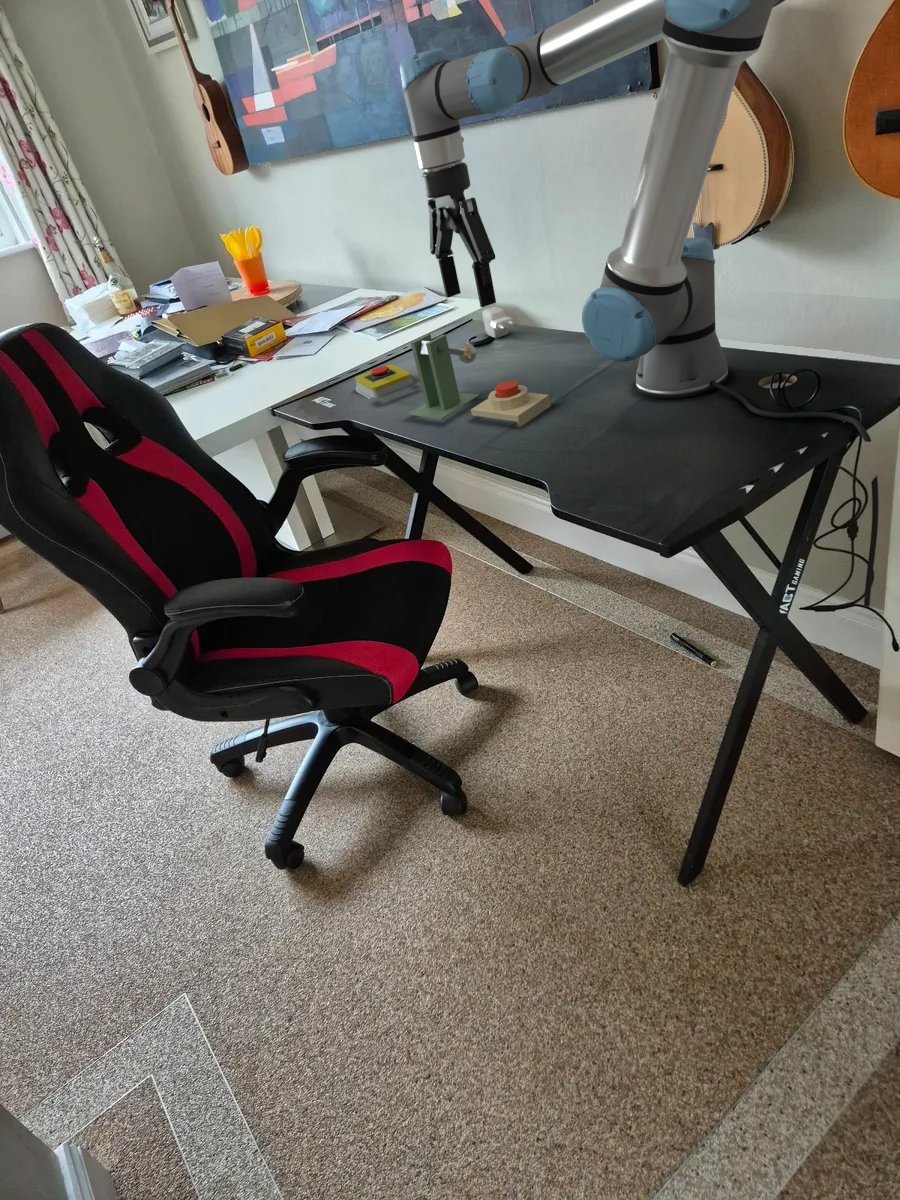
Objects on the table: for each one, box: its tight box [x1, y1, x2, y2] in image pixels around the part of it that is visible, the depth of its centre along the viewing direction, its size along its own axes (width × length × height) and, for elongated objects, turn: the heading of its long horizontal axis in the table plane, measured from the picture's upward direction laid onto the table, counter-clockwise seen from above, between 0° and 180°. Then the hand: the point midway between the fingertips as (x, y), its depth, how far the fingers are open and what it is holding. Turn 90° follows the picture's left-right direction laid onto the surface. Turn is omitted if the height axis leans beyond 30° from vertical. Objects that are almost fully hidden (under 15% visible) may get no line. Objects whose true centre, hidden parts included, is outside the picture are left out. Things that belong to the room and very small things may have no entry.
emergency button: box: [355, 363, 414, 400], centre depth 164 cm, size 9×4×15 cm
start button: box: [494, 380, 519, 398], centre depth 137 cm, size 4×4×2 cm
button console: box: [470, 384, 552, 428], centre depth 139 cm, size 11×9×4 cm
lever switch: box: [420, 341, 478, 364], centre depth 145 cm, size 13×4×4 cm, turn 138°
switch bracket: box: [407, 333, 480, 420], centre depth 145 cm, size 11×9×14 cm
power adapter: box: [481, 306, 517, 339], centre depth 176 cm, size 11×5×6 cm, turn 22°
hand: (470, 300), depth 137 cm, fingers open, 13 cm apart
